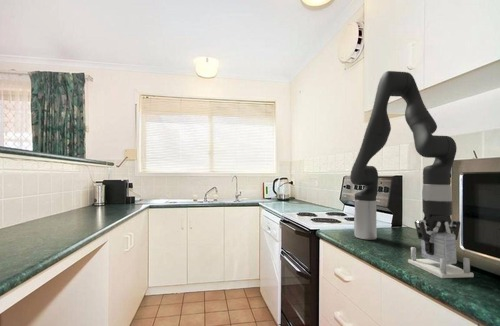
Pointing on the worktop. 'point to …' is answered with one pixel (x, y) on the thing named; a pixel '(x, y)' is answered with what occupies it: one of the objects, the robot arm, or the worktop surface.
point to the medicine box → (442, 248)
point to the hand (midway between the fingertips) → (438, 254)
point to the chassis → (441, 267)
